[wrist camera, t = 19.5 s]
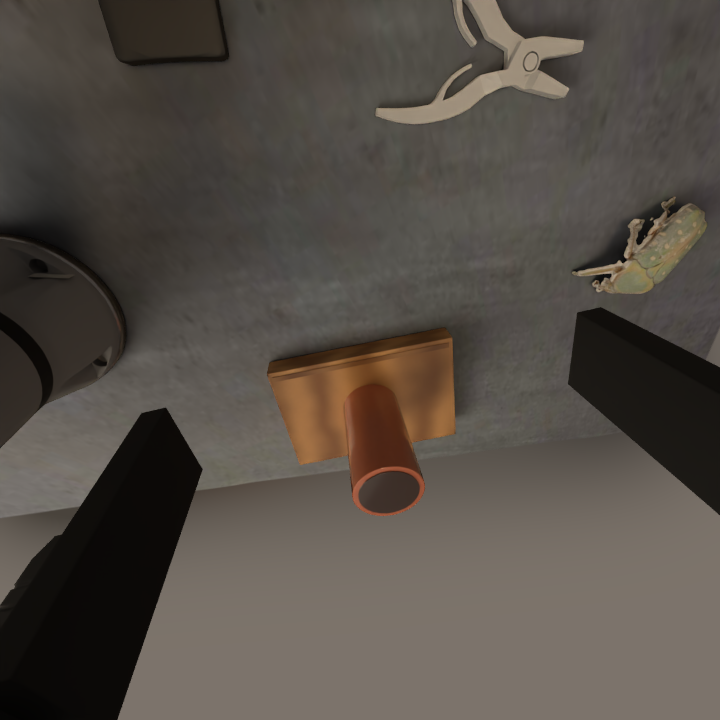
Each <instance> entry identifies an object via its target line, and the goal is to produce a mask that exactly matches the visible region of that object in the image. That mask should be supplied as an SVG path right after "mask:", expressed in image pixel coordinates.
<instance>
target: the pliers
mask: <svg viewBox="0 0 720 720" xmlns="http://www.w3.org/2000/svg"><path fill="white" fill-rule="evenodd" d="M452 1H453V9H454V16H455V19H456V23H457V26H458V29H459V31H460V32H461V34H462V36H463V37H464V39H465V40H466V42H467V43H468V44H469V45H470V47H471V48H472V47H474V46H475V45H476V43H477V41H476V40H475V38H474V37H473V36H472V34H471V33H470V31H469V29H468V27H467V25H466V24H465V20H464V16H463V12H462V1H463V2H464V3H465V4H466V5H467V6H468V8H469V10H470V11H471V13H472V15H473V17H474V19H475V20H476V22H477V24H478V26H479V29H480V31H481V33H482V35H483V37H484V39H485V40H487V41H488V42H490V43H491V44H493V45H495V46H496V47H498V48H499V49H501V50H503V51H504V70H501V71H495V72H491V73H487V74H483V75H479V76H477V77H476V78H474V79H473V80H472V81H471V82H470V83H468V84H467V85H466V86H465V87H463V88H462V89H461V90H460V91H458V92H457V93H456V94H454V95H453V96H452V97H450V98H448V99H446V100H443V98H444V95H445V93H446V90H447V88H448V87H449V85H450V84H451V83H452V81H453V80H454V79H455V78H456V77H458V76H459V75H460V74H461V73H463V72H464V71H466V70H468V69H469V68H471V67H472V65H471V64H469V65H467V66H465V67H463V68H461V69H460V70H458V71H457V72H455V73H454V74H453V75H451V76H450V77H449V78H448V79H447V80H446V81H445V83H444V84H443V85H442V86H441V88H440V90H439V91H438V93H437V95H436V97H435V99H434V100H433V101H432V102H431V103H430V104H429V105H425V106H419V107H413V108H376V111H375V116H377V117H380V118H383V119H385V120H389V121H393V122H396V123H404V124H425V123H431V122H436V121H440V120H444V119H448V118H450V117H453V116H456V115H458V114H460V113H462V112H464V111H466V110H467V109H469V108H471V107H472V106H473V105H474V104H475V103H476V102H478V101H479V100H480V99H481V98H482V97H483V96H485V95H487V94H489V93H491V92H493V91H495V90H497V89H499V88H503V87H508V86H512V87H514V88H516V89H517V90H519V91H523V92H527V93H531V94H535V95H539V96H543V97H547V98H551V99H558V98H563V97H565V96H566V94H567V92H568V90H569V88H568V87H566V86H564V85H563V84H561V83H560V82H558V81H556V80H555V79H553V78H552V77H550V76H548V75H547V74H545V73H544V72H542V71H539V70H537V69H538V67H539V66H540V62H541V60H547V59H553V58H559V57H565V56H570V55H573V54H576V53H578V52H581V51H582V50H583V43H584V41H582V40H573V39H564V38H555V37H546V36H541V37H535V38H529V39H524V38H523V37H522V36H520V35H518V34H517V33H515V32H513V31H512V29H511V28H510V27H509V25H508V24H507V22H506V21H505V20H504V18H503V17H502V14H501V12H500V9H499V7H498V4H497V2H496V0H452Z"/></svg>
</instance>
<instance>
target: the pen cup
mask: <svg viewBox="0 0 720 720" xmlns="http://www.w3.org/2000/svg"><path fill="white" fill-rule="evenodd" d="M343 412H344V421H345V431H346V440H347V449H348V459H349V468H350V478H351V487H352V497H353V501H354V503H355V504H356V506H357V507H358V508H359V509H361V510H362V511H364V512H366V513H368V514H372V515H378V516H387V515H394V514H398V513H401V512H403V511H406V510H408V509H410V508H411V507H413V506H414V505H415V504H416V503H417V502H418V501H419V500H420V499H421V497H422V496H423V493H424V490H425V483H424V480H423V477H422V474H421V471H420V467H419V464H418V461H417V458H416V455H415V452H414V449H413V446H412V443H411V440H410V436H409V433H408V430H407V427H406V424H405V421H404V418H403V415H402V412H401V409H400V406H399V403H398V399H397V397H396V395H395V394H394V392H393V391H391V390H390V389H389V388H387V387H385V386H382V385H376V384H370V385H365V386H361V387H359V388H357V389H355V390H354V391H352V392H351V393H350V394H349V395H348V397H347V398H346V400H345V402H344V406H343Z"/></svg>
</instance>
